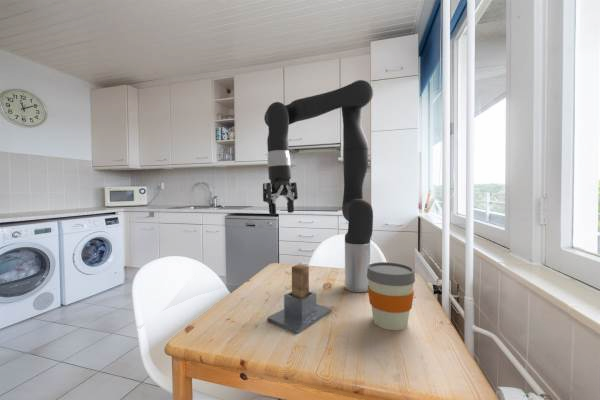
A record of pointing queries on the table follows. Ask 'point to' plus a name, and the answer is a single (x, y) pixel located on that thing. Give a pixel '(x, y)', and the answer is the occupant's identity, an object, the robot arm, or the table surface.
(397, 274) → the reusable coffee cup
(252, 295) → the table surface
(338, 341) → the table surface
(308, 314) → the grey square tube bracket
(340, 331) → the table surface
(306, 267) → the brown square block
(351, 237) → the robot arm
